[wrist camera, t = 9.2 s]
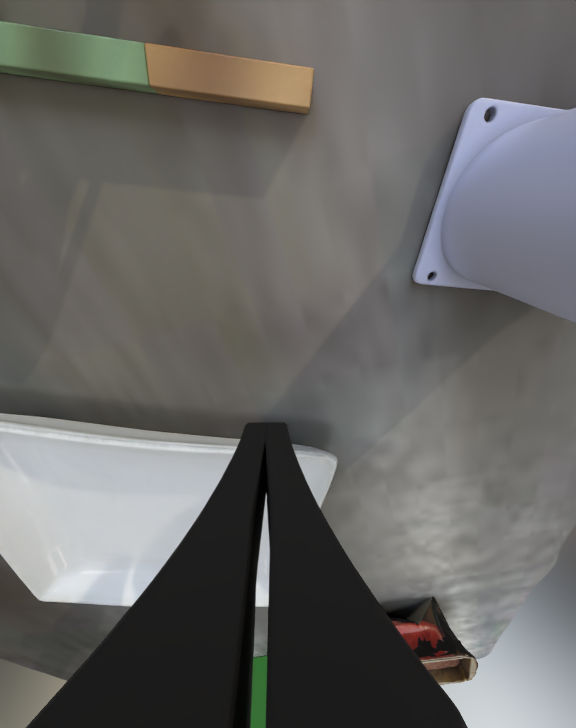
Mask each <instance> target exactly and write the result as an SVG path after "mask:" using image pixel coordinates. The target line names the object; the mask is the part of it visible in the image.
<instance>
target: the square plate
mask: <svg viewBox="0 0 576 728" xmlns="http://www.w3.org/2000/svg"><path fill="white" fill-rule="evenodd" d="M239 441H240V439H233V438H221V437H210V436H200V435H189V434H179V433H168V432H158V431H148V430H140V429H132V428H124V427H116V426H108V425H101V424H93V423H86V422H78V421H70V420H62V419H54V418H46V417H37V416H25V415H14V414H2V413H0V554H1V555H2V556H3V558H4V559H5V560H6V562H7V563H8V564H9V565H10V567H11V568H12V569H13V570H14V571H15V573H16V574H17V575H18V576H19V578H20V579H21V580H22V581H23V582H24V584H25V585H26V586H27V587H28V588H29V589H30V591H31V592H32V593H33V595H34V596H35V597H36V598H37V599H39V600H41V601H47V602H69V603H85V604H101V605H118V606H132V605H133V604H134V603H135V601H136V600H137V599H138V598H139V596H140V595H141V594H142V593H143V592H144V590H145V589H146V588H147V587H148V585H149V584H150V583H151V581H152V580H153V579H154V577H155V576H156V575H157V574H158V572H159V571H160V570H161V568H162V567H163V566H164V564H165V563H166V561H167V560H168V559H169V557H170V556H171V555H172V553H173V552H174V551H175V549H176V548H177V547H178V545H179V544H180V542H181V541H182V540H183V538H184V537H185V535H186V534H187V532H188V531H189V529H190V528H191V526H192V525H193V523H194V522H195V520H196V519H197V517H198V516H199V514H200V513H201V511H202V510H203V508H204V506H205V505H206V503H207V502H208V500H209V498H210V496H211V495H212V493H213V491H214V490H215V488H216V486H217V485H218V483H219V481H220V480H221V478H222V476H223V474H224V472H225V470H226V468H227V466H228V464H229V462H230V461H231V459H232V457H233V455H234V452H235V450H236V448H237V446H238V444H239ZM292 446H293V449H294V452H295V455H296V457H297V460H298V462H299V465H300V467H301V469H302V472H303V474H304V476H305V479H306V481H307V483H308V485H309V487H310V490H311V492H312V494H313V496H314V498H315V500H316V502H317V504H318V506H319V508H321V506H322V503H323V501H324V499H325V496H326V494H327V492H328V489H329V487H330V484H331V482H332V479H333V476H334V473H335V471H336V468H337V464H338V459H337V458H336V456H335V455H334V454H332V453H329V452H325V451H323V450H320V449H317V448H314V447H310V446H303V445H297V444H292ZM269 561H270V547H269V530H268V513H267V496H266V499H265V508H264V516H263V525H262V533H261V542H260V551H259V559H258V569H257V581H256V603H255V606H267V607H268V606H269Z"/></svg>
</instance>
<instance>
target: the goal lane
mask: <svg viewBox="0 0 576 728" xmlns="http://www.w3.org/2000/svg"><path fill="white" fill-rule="evenodd" d="M0 73H8V74H16V75H23V76H30V77H38V78H45V79H52V80H60V81H67V82H74V83H82V84H89V85H96V86H104V87H111V88H118V89H126V90H133V91H140V92H147V93H155V94H156V93H158V94H162V95H169V96H176V97H184V98H191V99H198V100H206V101H213V102H220V103H228V104H235V105H242V106H250V107H257V108H264V109H272V110H279V111H286V112H294V113H301V114H308V111H309V109H310V104H311V94H312V84H313V74H314V69H313V68H309V67H303V66H296V65H289V64H283V63H276V62H269V61H263V60H256V59H250V58H243V57H236V56H230V55H223V54H216V53H210V52H203V51H196V50H190V49H183V48H177V47H170V46H163V45H157V44H150V43H145V44H144V43H142V42H136V41H130V40H123V39H116V38H110V37H103V36H96V35H90V34H83V33H77V32H70V31H63V30H57V29H50V28H43V27H37V26H30V25H23V24H17V23H10V22H4V21H0Z"/></svg>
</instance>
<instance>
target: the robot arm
mask: <svg viewBox="0 0 576 728" xmlns="http://www.w3.org/2000/svg"><path fill="white" fill-rule="evenodd" d="M487 109H488V110H490V113H491V114H490V118H489V120H488V122H486V121H485V119H484V115H485V112H486V110H487ZM431 272H433V276H432V278H430V279H427V277H428V274H429V273H431ZM412 277H413V280H414V281H415V282H416V283H418V284H425V285H436V286H447V287H459V288H470V289H481V290H493V291H497V292H499V293H502V294H504V295H507V296H509V297H512V298H514V299H517V300H519V301H522V302H524V303H527V304H529V305H532V306H534V307H537V308H539V309H541V310H544V311H546V312H549V313H551V314H554V315H556V316H559V317H561V318H564V319H566V320H569V321H571V322H574V323H576V108H573V109H570V110H563V109H556V108H549V107H542V106H536V105H529V104H522V103H516V102H509V101H502V100H496V99H489V98H480V99H478V100H476V101H474V102H472V103H471V104H470V105H469V106H468V107H467V109H466V111H465V113H464V116H463V119H462V122H461V125H460V128H459V132H458V135H457V138H456V141H455V144H454V147H453V150H452V153H451V156H450V159H449V163H448V166H447V169H446V172H445V175H444V178H443V181H442V184H441V187H440V191H439V194H438V197H437V200H436V203H435V206H434V209H433V212H432V215H431V218H430V222H429V225H428V228H427V231H426V234H425V237H424V240H423V243H422V246H421V249H420V253H419V256H418V259H417V262H416V265H415V268H414V271H413V276H412ZM266 496H267V513H268V530H269V547H270V561H269V606H268V648H267V689H266V728H467V726H466V724H465V722H464V720H463V718H462V716H461V714H460V712H459V710H458V709H457V707H456V706H455V704H454V703H453V702H452V700H451V699H450V698H449V697H448V695H447V694H446V693H445V691H444V690H443V689H442V688H441V686H440V685H439V684H438V682H437V681H436V680H435V679H434V677H433V676H432V675H431V673H430V672H429V671H428V670H427V668H426V667H425V666H424V664H423V663H422V662H421V660H420V659H419V658H418V656H417V655H416V654H415V652H414V651H413V650H412V648H411V647H410V646H409V644H408V643H407V642H406V640H405V639H404V638H403V636H402V635H401V633H400V632H399V631H398V629H397V628H396V627H395V625H394V624H393V622H392V621H391V620H390V618H389V617H388V615H387V614H386V613H385V611H384V610H383V609H382V607H381V606H380V604H379V603H378V601H377V600H376V598H375V597H374V595H373V594H372V592H371V591H370V589H369V588H368V586H367V585H366V583H365V582H364V580H363V579H362V577H361V576H360V574H359V573H358V572H357V570H356V569H355V567H354V566H353V564H352V562H351V561H350V559H349V558H348V556H347V554H346V553H345V551H344V549H343V548H342V546H341V545H340V543H339V541H338V540H337V538H336V536H335V534H334V533H333V531H332V529H331V528H330V526H329V524H328V522H327V521H326V519H325V517H324V515H323V513H322V511H321V509H320V508H319V506H318V504H317V502H316V500H315V498H314V496H313V494H312V492H311V490H310V487H309V485H308V483H307V481H306V479H305V476H304V474H303V472H302V469H301V467H300V465H299V462H298V460H297V457H296V455H295V452H294V449H293V446H292V443H291V440H290V436H289V432H288V427H287V425H286V424H285V423H248V424H246V425H245V428H244V431H243V434H242V437H241V439H240V441H239V444H238V446H237V448H236V450H235V452H234V455H233V457H232V459H231V461H230V462H229V464H228V466H227V468H226V470H225V472H224V474H223V476H222V478H221V480H220V481H219V483H218V485H217V486H216V488H215V490H214V491H213V493H212V495H211V496H210V498H209V500H208V502H207V503H206V505H205V506H204V508H203V510H202V511H201V513H200V514H199V516H198V517H197V519H196V520H195V522H194V523H193V525H192V526H191V528H190V529H189V531H188V532H187V534H186V535H185V537H184V538H183V540H182V541H181V542H180V544H179V545H178V547H177V548H176V549H175V551H174V552H173V553H172V555H171V556H170V557H169V559H168V560H167V561H166V563H165V564H164V566H163V567H162V568H161V570H160V571H159V572H158V574H157V575H156V576H155V577H154V579H153V580H152V581H151V583H150V584H149V585H148V587H147V588H146V589H145V590H144V592H143V593H142V594H141V595H140V596H139V598H138V599H137V600H136V601H135V603H134V604H133V605H132V606H131V607H130V609H129V610H128V611H127V612H126V613H125V615H124V616H123V617H122V618H121V620H120V621H119V622H118V623H117V624H116V626H115V627H114V628H113V629H112V630H111V632H110V633H109V634H108V635H107V637H106V638H105V639H104V640H103V641H102V643H101V644H100V645H99V646H98V647H97V648H96V650H95V651H94V652H93V653H92V654H91V655H90V656H89V658H88V659H87V660H86V661H85V662H84V663H83V664H82V665H81V667H80V668H79V669H78V670H77V671H76V672H75V673H74V674H73V676H72V677H71V678H70V679H69V680H68V681H67V682H66V684H64V686H63V687H62V688H61V689H60V690H59V691H58V692H57V693H56V695H55V696H54V697H53V698H52V699H51V700H50V701H49V702H48V704H47V705H46V706H45V707H44V708H43V709H42V710H41V711H40V713H39V714H38V715H37V716H36V717H35V718H34V719H33V720H32V721H31V723H30V724H29V725H28V726H27V727H26V728H251V704H252V677H253V652H254V627H255V603H256V581H257V569H258V559H259V551H260V542H261V533H262V525H263V516H264V508H265V499H266Z"/></svg>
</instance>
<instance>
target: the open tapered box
mask: <svg viewBox="0 0 576 728" xmlns="http://www.w3.org/2000/svg"><path fill="white" fill-rule="evenodd" d="M390 620H391V621H392V622H393V624H394V625H395V627H396V628H397V629H398V631H399V632H400V633H401V635H402V636H403V638H404V639H405V640H406V642H407V643H408V644H409V646H410V647H411V648H412V650H413V651H414V652H415V654H416V655H417V656H418V658H419V659H420V660H421V662H422V663H423V664H424V666H425V667H426V668H427V670H428V671H429V672H430V673H431V675H432V676H433V677H434V679H435V680H436V681H437V682H438V684H439V685H444V684H451V683H460V682H464V681H469V680H472V678H473V677H474V675H475V674H476V670H477V668H478V663H477V661H476V659H475V657H474V656H473V655H472V654H471V653H470V652H468V651H467V650H466V649H465V648H464V647H463V645H462V644H461V642H460V641H459V640H458V639H457V638H456V636H455V635H454V633H453V632H452V630H451V629H450V627H449V625H448V623H447V621H446V619H445V617H444V615H443V613H442V611H441V609H440V607H439V605H438V603H437V601H436V599H435V598H434V597H432V600H431V602H430V605H429V608H428V610H427V611H426V613H425V615H424V617H423V618H422V620H421V622H420V623H419V624H417V623H415V622H412V621H408V620H404V619H400V618H390Z"/></svg>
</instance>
